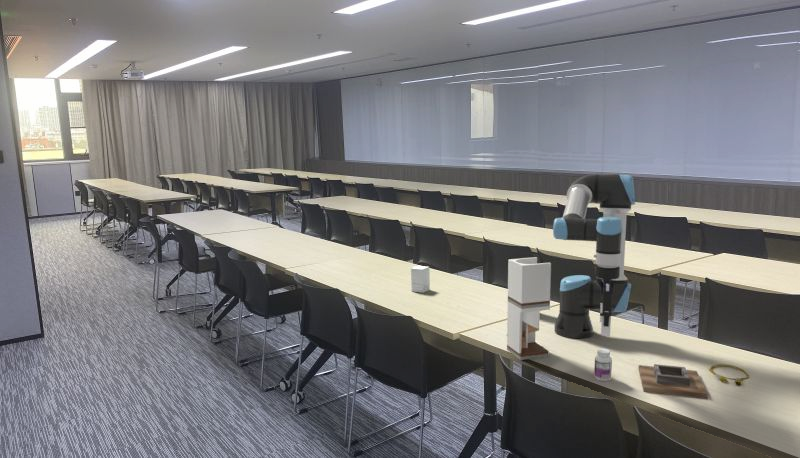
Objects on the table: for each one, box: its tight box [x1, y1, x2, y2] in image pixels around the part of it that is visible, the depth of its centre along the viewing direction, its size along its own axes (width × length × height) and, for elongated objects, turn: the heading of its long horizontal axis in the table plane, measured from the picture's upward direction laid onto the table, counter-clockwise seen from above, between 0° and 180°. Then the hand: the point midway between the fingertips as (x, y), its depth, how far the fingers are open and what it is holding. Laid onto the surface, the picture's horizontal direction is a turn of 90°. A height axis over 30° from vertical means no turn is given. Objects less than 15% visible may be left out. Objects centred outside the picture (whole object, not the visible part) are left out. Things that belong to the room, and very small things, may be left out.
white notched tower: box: [506, 256, 552, 361], centre depth 210 cm, size 11×11×35 cm
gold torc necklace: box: [709, 364, 749, 387], centre depth 191 cm, size 12×16×2 cm
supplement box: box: [410, 265, 431, 294], centre depth 300 cm, size 7×7×13 cm
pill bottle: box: [593, 348, 613, 382], centre depth 190 cm, size 5×5×10 cm
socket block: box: [638, 363, 708, 399], centre depth 186 cm, size 18×18×4 cm
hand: (604, 328), depth 187 cm, fingers open, 13 cm apart
